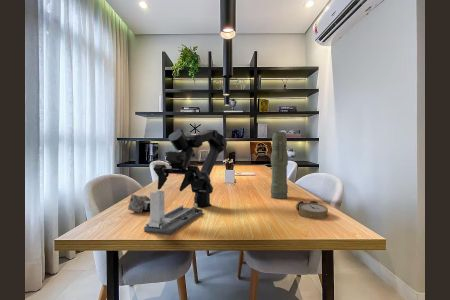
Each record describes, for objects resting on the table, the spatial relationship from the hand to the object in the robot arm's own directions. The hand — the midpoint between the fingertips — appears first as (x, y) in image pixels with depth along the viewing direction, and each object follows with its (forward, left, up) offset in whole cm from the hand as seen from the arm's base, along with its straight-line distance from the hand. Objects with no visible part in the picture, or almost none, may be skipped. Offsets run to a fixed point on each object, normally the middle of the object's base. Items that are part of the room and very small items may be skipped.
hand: (169, 189), depth 90 cm
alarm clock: (-52, +24, -13) cm, 59 cm away
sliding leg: (+5, +6, -10) cm, 13 cm away
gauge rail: (-3, 0, -12) cm, 13 cm away
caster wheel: (+1, -22, -13) cm, 26 cm away
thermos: (-64, -4, -12) cm, 66 cm away
